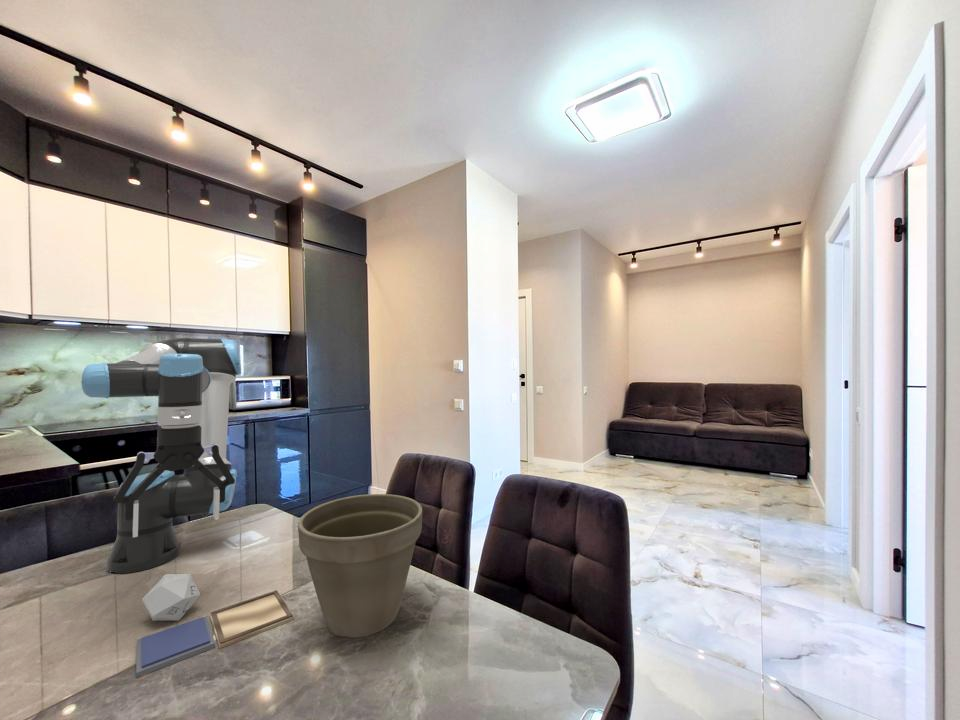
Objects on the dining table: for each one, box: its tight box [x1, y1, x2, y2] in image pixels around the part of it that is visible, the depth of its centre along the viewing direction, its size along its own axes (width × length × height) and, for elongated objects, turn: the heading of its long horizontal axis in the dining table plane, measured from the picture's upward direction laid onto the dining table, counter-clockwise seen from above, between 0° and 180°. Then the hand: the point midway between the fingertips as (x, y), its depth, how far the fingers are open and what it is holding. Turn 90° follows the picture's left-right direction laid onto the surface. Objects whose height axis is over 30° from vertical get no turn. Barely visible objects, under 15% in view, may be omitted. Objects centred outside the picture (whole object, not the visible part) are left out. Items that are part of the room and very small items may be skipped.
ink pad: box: [135, 615, 216, 678], centre depth 73 cm, size 11×11×1 cm
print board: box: [209, 590, 295, 650], centre depth 81 cm, size 13×13×1 cm
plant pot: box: [297, 493, 423, 639], centre depth 82 cm, size 25×25×22 cm
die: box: [141, 573, 201, 622], centre depth 82 cm, size 8×9×10 cm
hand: (177, 526), depth 83 cm, fingers open, 13 cm apart
